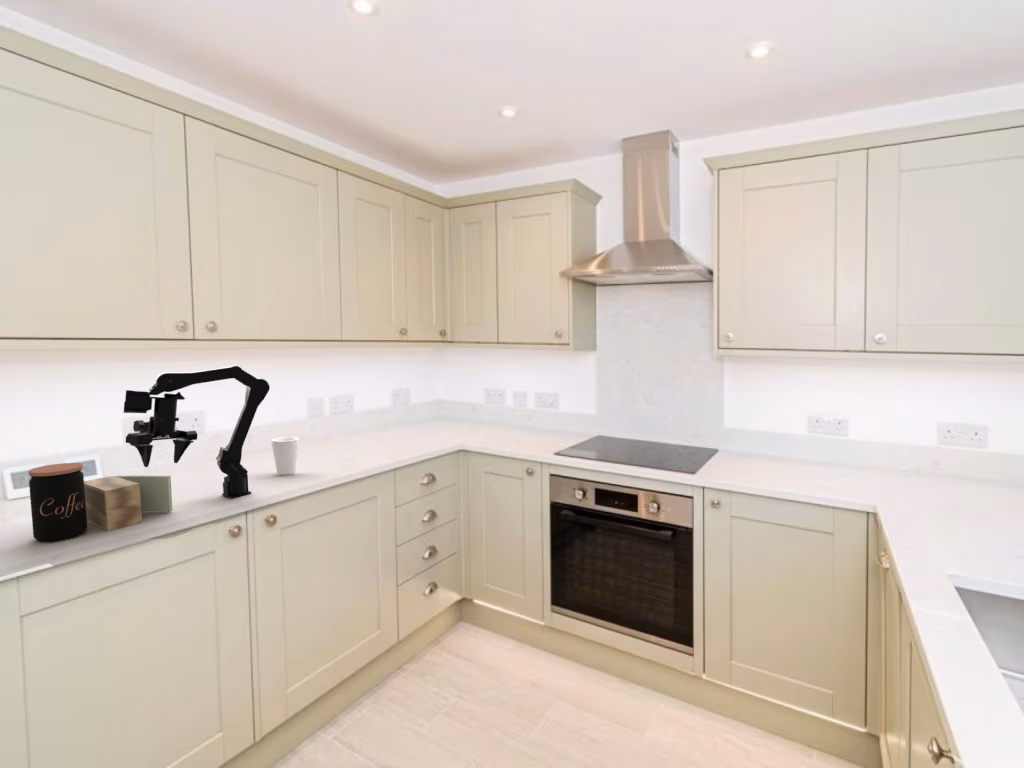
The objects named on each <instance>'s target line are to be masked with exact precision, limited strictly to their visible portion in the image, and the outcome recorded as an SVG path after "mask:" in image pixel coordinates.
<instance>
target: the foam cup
mask: <svg viewBox="0 0 1024 768" xmlns="http://www.w3.org/2000/svg"><path fill="white" fill-rule="evenodd" d="M299 443H300V439H299V437H297V436H284V437H276V438H271V444H270V445H271V448H272V453H273V459H274V462H275V463H274V464H275V468H276V474H277V475H278V474H280V475H279V476H288V475H287V474H289V475H293V474H295V473H296V471H297V470H296V469H297V461H298V460H297V459H298V449H299Z"/></svg>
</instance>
